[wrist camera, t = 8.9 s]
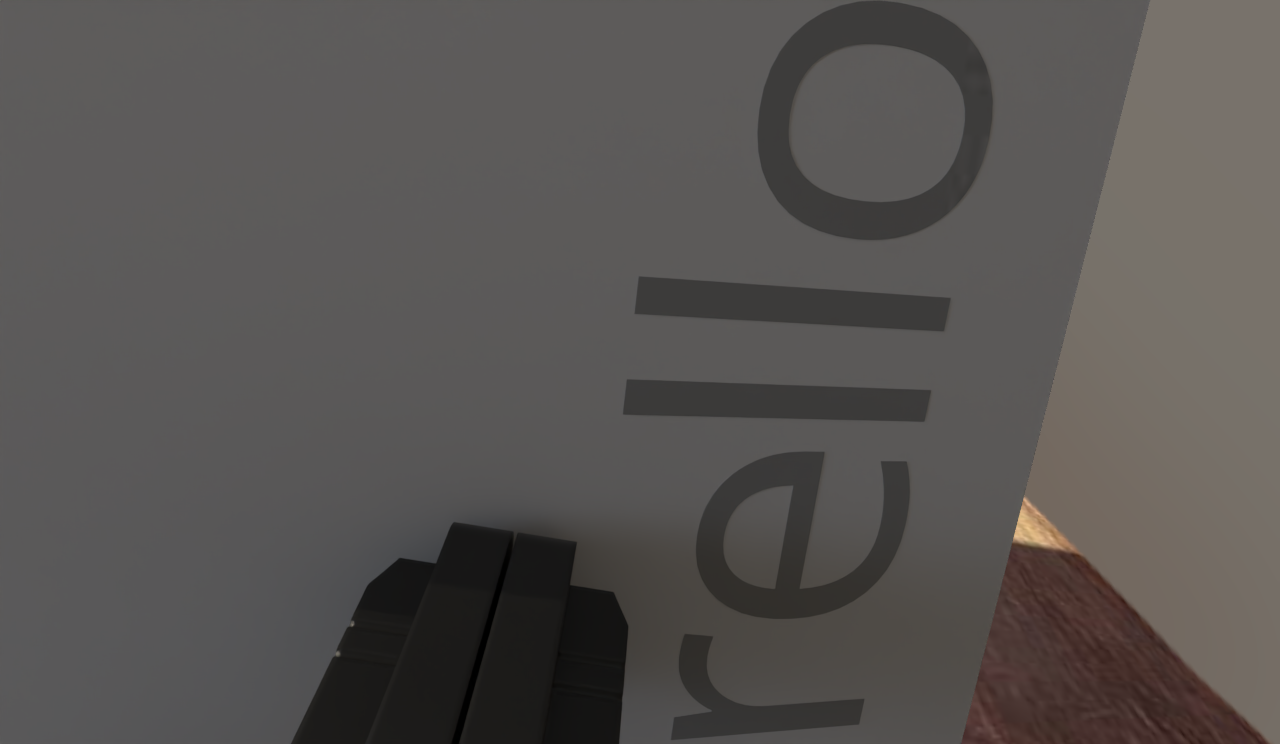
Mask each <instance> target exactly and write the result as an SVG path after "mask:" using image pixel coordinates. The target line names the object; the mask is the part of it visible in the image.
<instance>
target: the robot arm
mask: <svg viewBox="0 0 1280 744" xmlns="http://www.w3.org/2000/svg"><path fill="white" fill-rule="evenodd" d="M513 541H514V532H513V531H508V530H502V529H496V528H490V527H483V526H477V525H471V524H465V523H458V522H453V523H452V525H451V527H450V529H449V531H448V534H447V536H446V539H445V541H444V544H443V547H442V549H441V552H440V554H439V557H438V559H437V562H436V563H430V562H423V561H417V560H411V559H405V558H399V559H398V560H397V561H395V562H394V563H393V564H392V565H391V566H389V567H388V568H387V569H386V570H385V571H383V572H382V573H381V574H380V575H379V576H377V577H376V578H375V579H374V580H373V581H371V582H370V583H369V584H368V585H367V587H366V589H365V591H364V593H363V595H362V597H361V600H360V602H359V604H358V606H357V608H356V610H355V612H354V614H353V616H352V618H351V622H350V626H349V627H347V629H346V631H345V633H344V635H343V637H342V639H341V641H340V643H339V645H338V647H337V650H336V655H335V657H333V658H332V660H331V662H330V664H329V666H328V668H327V670H326V672H325V674H324V676H323V678H322V680H321V682H320V684H319V687H318V689H317V691H316V693H315V695H314V697H313V699H312V701H311V703H310V705H309V707H308V709H307V711H306V713H305V716H304V718H303V720H302V722H301V724H300V726H299V728H298V730H297V732H296V734H295V736H294V738H293V740H292V742H291V744H619V739H620V727H621V714H622V697H623V689H624V677H625V664H626V652H627V640H628V627H629V626H628V624H627V621H626V619H625V617H624V614H623V612H622V610H621V608H620V605H619V603H618V601H617V599H616V596H615V594H614V592H611V591H605V590H598V589H592V588H586V587H579V586H573V585H570V583H571V577H572V571H573V564H574V558H575V552H576V546H577V542H575V541H569V540H563V539H557V538H550V537H544V536H538V535H532V534H525V533H518V534H517V537H516V540H515V543H514V547H513Z"/></svg>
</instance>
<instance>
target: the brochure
mask: <svg viewBox="0 0 1280 744" xmlns="http://www.w3.org/2000/svg"><path fill="white" fill-rule="evenodd" d="M1149 2H1150V0H0V744H291V742H292V740H293V738H294V736H295V734H296V732H297V730H298V728H299V726H300V724H301V722H302V720H303V718H304V716H305V713H306V711H307V709H308V707H309V705H310V703H311V701H312V699H313V697H314V695H315V693H316V691H317V689H318V687H319V684H320V682H321V680H322V678H323V676H324V674H325V672H326V670H327V668H328V666H329V664H330V662H331V660H332V658H333V657H335V655H336V650H337V647H338V645H339V643H340V641H341V639H342V637H343V635H344V633H345V631H346V629H347V627H349V626H350V622H351V618H352V616H353V614H354V612H355V610H356V608H357V606H358V604H359V602H360V600H361V597H362V595H363V593H364V591H365V589H366V587H367V585H368V584H369V583H370V582H371V581H373V580H374V579H375V578H376V577H377V576H379V575H380V574H381V573H382V572H383V571H385V570H386V569H387V568H388V567H389V566H391V565H392V564H393V563H394V562H395V561H397V560H398V559H399V558H405V559H411V560H417V561H423V562H430V563H436V562H437V559H438V557H439V554H440V552H441V549H442V547H443V544H444V541H445V539H446V536H447V534H448V531H449V529H450V527H451V525H452V523H453V522H458V523H465V524H471V525H477V526H483V527H490V528H496V529H502V530H508V531H513V532H514V541H513V547H514V543H515V540H516V537H517V534H518V533H525V534H532V535H538V536H544V537H550V538H557V539H563V540H569V541H575V542H577V546H576V552H575V558H574V564H573V571H572V577H571V583H570V585H573V586H579V587H586V588H592V589H598V590H605V591H611V592H614V594H615V596H616V599H617V601H618V603H619V605H620V608H621V610H622V612H623V614H624V617H625V619H626V621H627V624H628V626H629V627H628V640H627V652H626V664H625V677H624V689H623V697H622V714H621V727H620V739H619V744H961V742H962V738H963V734H964V730H965V726H966V722H967V718H968V714H969V710H970V706H971V702H972V698H973V694H974V690H975V686H976V683H977V679H978V675H979V671H980V667H981V663H982V659H983V655H984V651H985V647H986V643H987V639H988V635H989V631H990V628H991V624H992V620H993V616H994V612H995V608H996V604H997V600H998V596H999V592H1000V588H1001V584H1002V580H1003V576H1004V572H1005V569H1006V565H1007V561H1008V557H1009V553H1010V549H1011V545H1012V541H1013V537H1014V533H1015V529H1016V525H1017V521H1018V517H1019V513H1020V510H1021V506H1022V502H1023V498H1024V494H1025V490H1026V486H1027V482H1028V478H1029V474H1030V470H1031V466H1032V462H1033V458H1034V455H1035V451H1036V447H1037V442H1038V438H1039V435H1040V431H1041V427H1042V422H1043V419H1044V415H1045V411H1046V407H1047V403H1048V399H1049V395H1050V392H1051V388H1052V384H1053V380H1054V376H1055V372H1056V368H1057V364H1058V360H1059V356H1060V352H1061V348H1062V344H1063V341H1064V337H1065V333H1066V329H1067V325H1068V321H1069V317H1070V313H1071V309H1072V305H1073V301H1074V297H1075V293H1076V289H1077V285H1078V281H1079V278H1080V274H1081V269H1082V265H1083V262H1084V258H1085V254H1086V250H1087V246H1088V242H1089V238H1090V234H1091V230H1092V226H1093V222H1094V219H1095V215H1096V211H1097V207H1098V203H1099V198H1100V195H1101V191H1102V187H1103V183H1104V179H1105V175H1106V171H1107V168H1108V164H1109V160H1110V156H1111V152H1112V148H1113V144H1114V140H1115V136H1116V132H1117V128H1118V124H1119V120H1120V116H1121V112H1122V109H1123V104H1124V100H1125V97H1126V93H1127V89H1128V85H1129V81H1130V77H1131V73H1132V69H1133V65H1134V61H1135V57H1136V54H1137V50H1138V46H1139V42H1140V38H1141V33H1142V30H1143V26H1144V22H1145V18H1146V14H1147V10H1148V6H1149Z"/></svg>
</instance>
